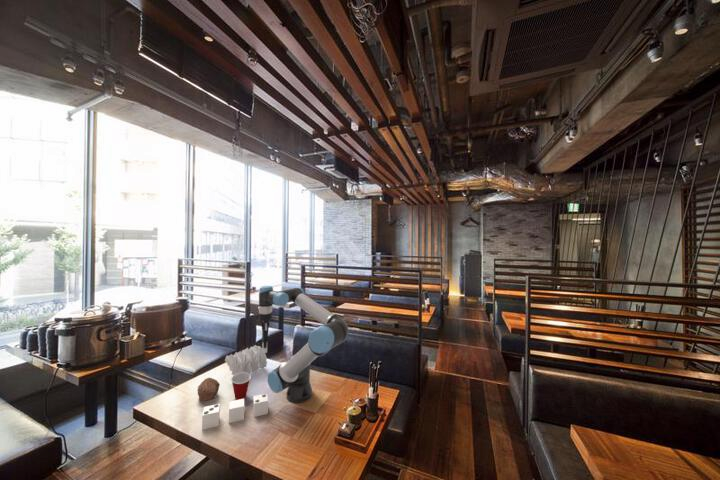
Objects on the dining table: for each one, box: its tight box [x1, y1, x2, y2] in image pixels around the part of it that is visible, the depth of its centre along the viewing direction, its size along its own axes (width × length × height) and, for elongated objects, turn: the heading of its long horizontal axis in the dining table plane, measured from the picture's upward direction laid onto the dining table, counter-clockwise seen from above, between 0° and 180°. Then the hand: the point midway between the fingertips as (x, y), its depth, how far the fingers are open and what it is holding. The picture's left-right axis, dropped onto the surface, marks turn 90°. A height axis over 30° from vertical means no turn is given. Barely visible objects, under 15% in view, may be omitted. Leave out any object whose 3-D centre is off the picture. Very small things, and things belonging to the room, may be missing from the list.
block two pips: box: [252, 393, 269, 418], centre depth 142 cm, size 7×7×7 cm
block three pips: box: [201, 403, 221, 430], centre depth 132 cm, size 7×7×7 cm
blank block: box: [228, 398, 245, 424], centre depth 137 cm, size 7×7×7 cm
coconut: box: [197, 377, 220, 402], centre depth 154 cm, size 13×11×10 cm
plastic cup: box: [230, 373, 252, 400], centre depth 154 cm, size 11×11×12 cm
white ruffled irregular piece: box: [224, 344, 268, 377], centre depth 181 cm, size 18×18×25 cm
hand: (264, 352), depth 155 cm, fingers closed
